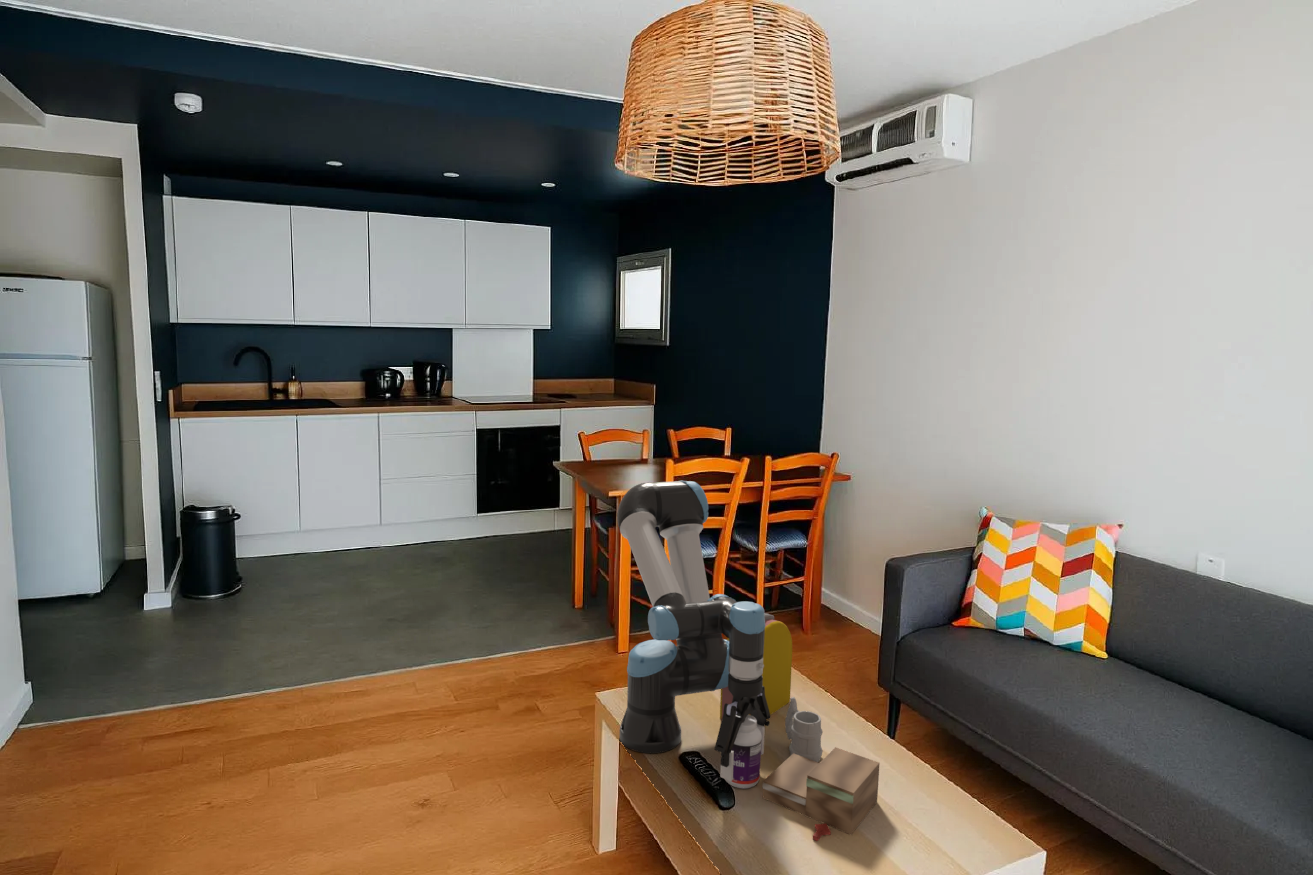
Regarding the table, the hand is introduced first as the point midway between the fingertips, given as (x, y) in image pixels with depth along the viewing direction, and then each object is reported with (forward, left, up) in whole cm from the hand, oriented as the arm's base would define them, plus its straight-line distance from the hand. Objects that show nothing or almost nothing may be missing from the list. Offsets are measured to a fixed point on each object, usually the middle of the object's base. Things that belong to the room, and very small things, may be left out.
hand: (742, 764), depth 174 cm
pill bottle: (0, 0, -4) cm, 4 cm away
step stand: (+17, +1, -4) cm, 17 cm away
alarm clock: (-14, +31, -4) cm, 34 cm away
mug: (+5, +19, -4) cm, 20 cm away
